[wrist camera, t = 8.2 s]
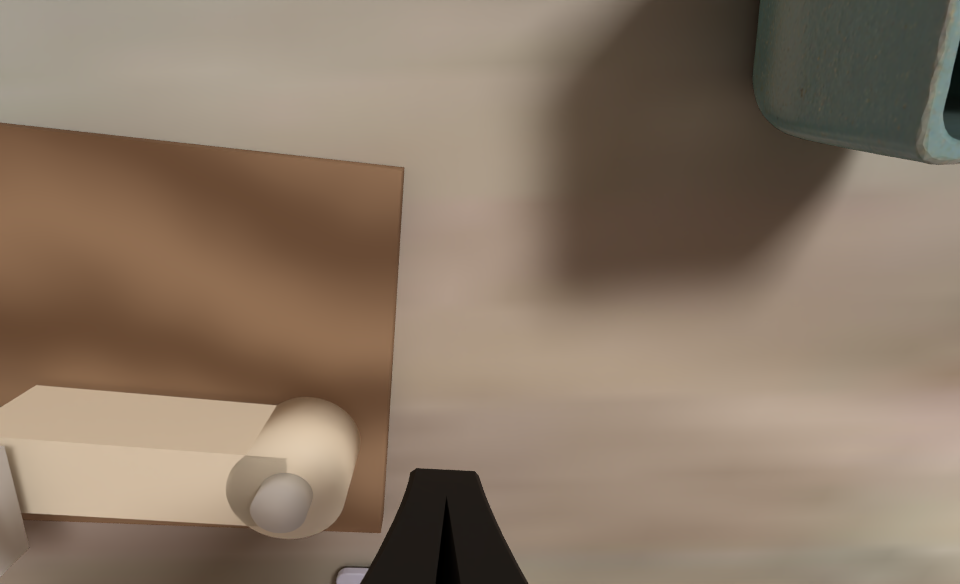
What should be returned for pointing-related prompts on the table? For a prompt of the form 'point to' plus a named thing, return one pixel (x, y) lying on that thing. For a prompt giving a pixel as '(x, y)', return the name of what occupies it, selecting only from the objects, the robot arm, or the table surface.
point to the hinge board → (197, 286)
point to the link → (180, 458)
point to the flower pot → (863, 74)
